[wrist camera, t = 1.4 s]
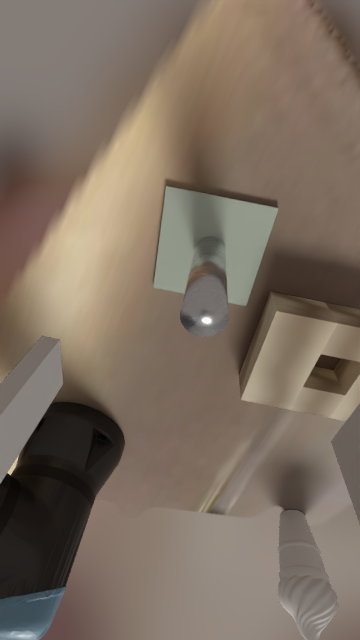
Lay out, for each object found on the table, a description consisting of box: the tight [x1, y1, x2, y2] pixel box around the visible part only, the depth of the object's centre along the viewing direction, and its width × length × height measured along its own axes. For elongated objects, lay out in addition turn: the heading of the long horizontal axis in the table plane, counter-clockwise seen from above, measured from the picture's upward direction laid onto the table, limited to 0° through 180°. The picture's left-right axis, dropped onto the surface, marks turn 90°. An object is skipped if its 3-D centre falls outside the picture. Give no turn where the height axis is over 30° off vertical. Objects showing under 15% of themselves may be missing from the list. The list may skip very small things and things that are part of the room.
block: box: [239, 291, 360, 421], centre depth 32 cm, size 16×12×4 cm
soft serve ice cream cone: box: [278, 510, 339, 640], centre depth 46 cm, size 8×8×16 cm
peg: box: [180, 236, 228, 337], centre depth 23 cm, size 3×3×12 cm
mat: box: [153, 186, 279, 306], centre depth 29 cm, size 10×10×1 cm
